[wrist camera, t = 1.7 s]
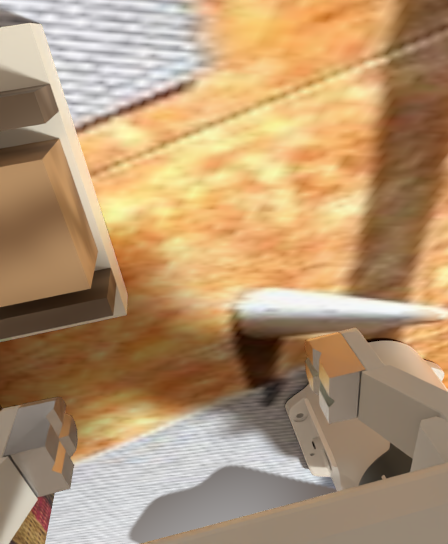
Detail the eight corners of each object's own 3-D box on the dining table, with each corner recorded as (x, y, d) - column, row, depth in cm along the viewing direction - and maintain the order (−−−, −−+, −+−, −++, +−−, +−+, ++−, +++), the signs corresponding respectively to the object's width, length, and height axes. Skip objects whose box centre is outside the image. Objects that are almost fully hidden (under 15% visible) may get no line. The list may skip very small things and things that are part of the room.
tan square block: (98, 251, 29) (90, 288, 24) (-16, 273, 28) (-44, 316, 24) (59, 138, 24) (41, 159, 20) (-76, 161, 24) (-123, 188, 20)
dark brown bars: (116, 284, 30) (113, 315, 27) (-5, 309, 30) (-24, 344, 26) (49, 83, 23) (33, 91, 19) (-114, 110, 22) (-160, 123, 19)
